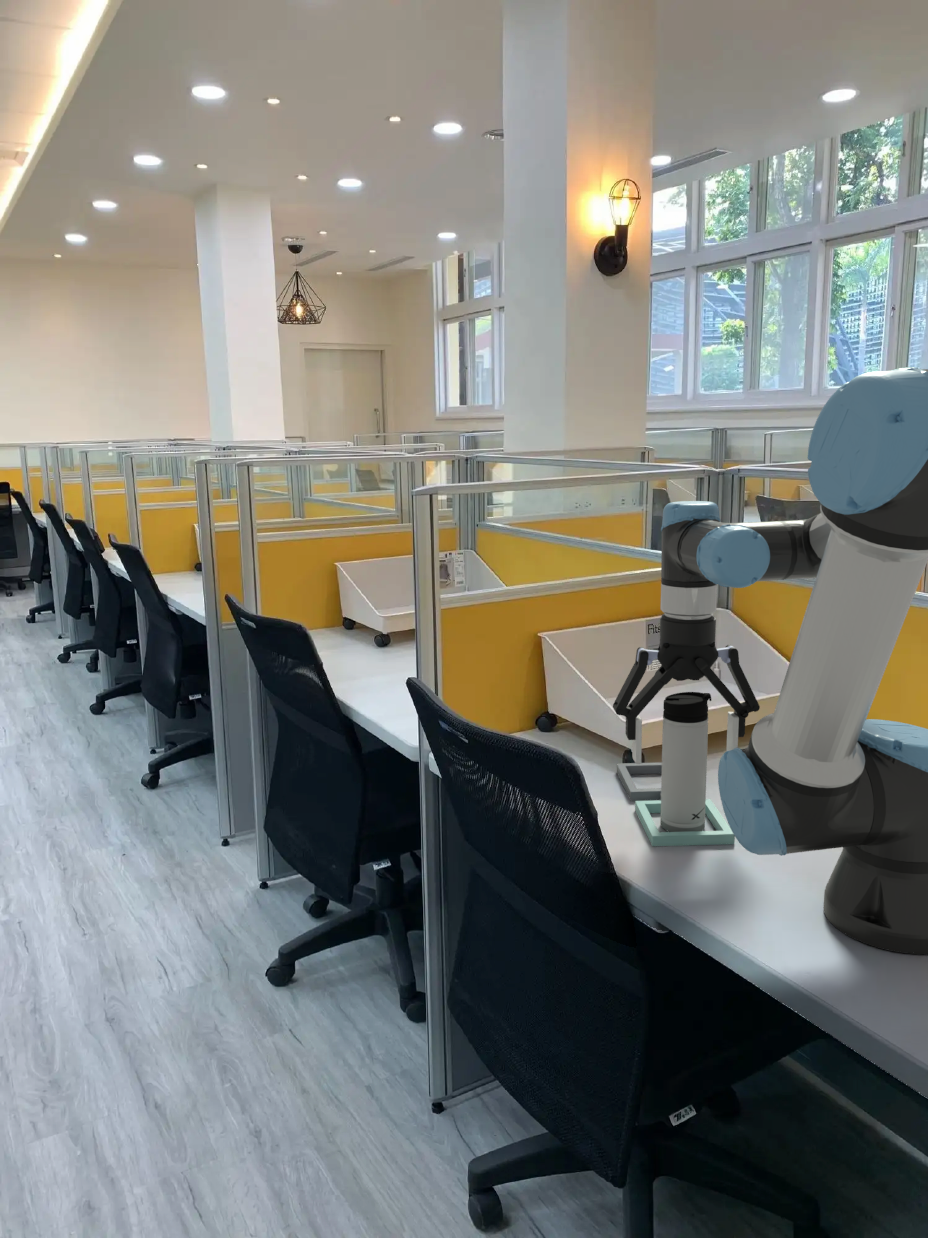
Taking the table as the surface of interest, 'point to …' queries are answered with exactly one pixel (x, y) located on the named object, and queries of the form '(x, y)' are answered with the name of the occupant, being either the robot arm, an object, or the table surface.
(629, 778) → the frame
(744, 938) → the table surface
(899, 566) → the robot arm
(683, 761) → the travel mug
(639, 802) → the frame
